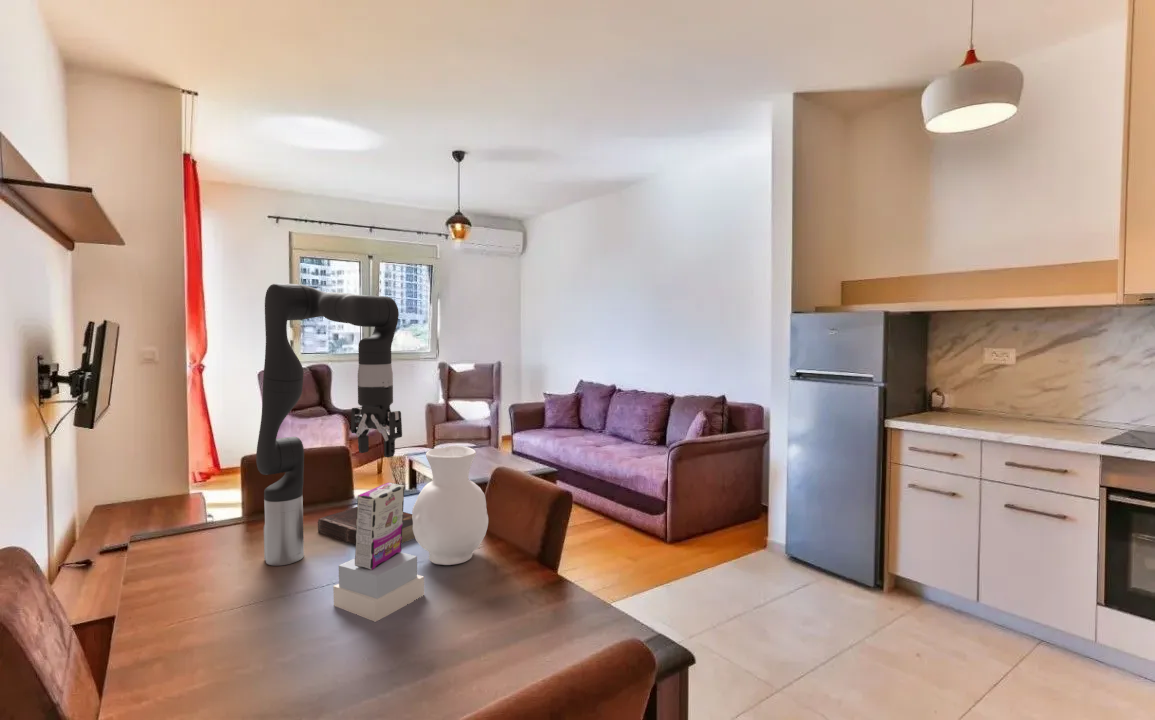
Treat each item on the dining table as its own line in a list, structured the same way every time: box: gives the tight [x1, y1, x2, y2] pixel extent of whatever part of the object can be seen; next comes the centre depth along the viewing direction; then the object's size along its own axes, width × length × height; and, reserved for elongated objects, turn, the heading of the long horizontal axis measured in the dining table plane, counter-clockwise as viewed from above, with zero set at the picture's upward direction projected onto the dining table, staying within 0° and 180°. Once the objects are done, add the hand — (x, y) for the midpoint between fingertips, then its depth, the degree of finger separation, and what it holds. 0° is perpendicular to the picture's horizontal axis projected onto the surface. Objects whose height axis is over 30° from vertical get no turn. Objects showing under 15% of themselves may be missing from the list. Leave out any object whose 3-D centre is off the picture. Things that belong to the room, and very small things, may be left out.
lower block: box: [332, 574, 425, 623], centre depth 128 cm, size 14×14×5 cm
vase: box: [411, 445, 489, 566], centre depth 151 cm, size 19×21×30 cm
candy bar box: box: [354, 482, 405, 570], centre depth 127 cm, size 11×5×16 cm, turn 163°
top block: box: [338, 551, 418, 599], centre depth 127 cm, size 12×12×5 cm
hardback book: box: [317, 506, 415, 546], centre depth 171 cm, size 29×19×5 cm, turn 56°
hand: (376, 454), depth 126 cm, fingers open, 8 cm apart
